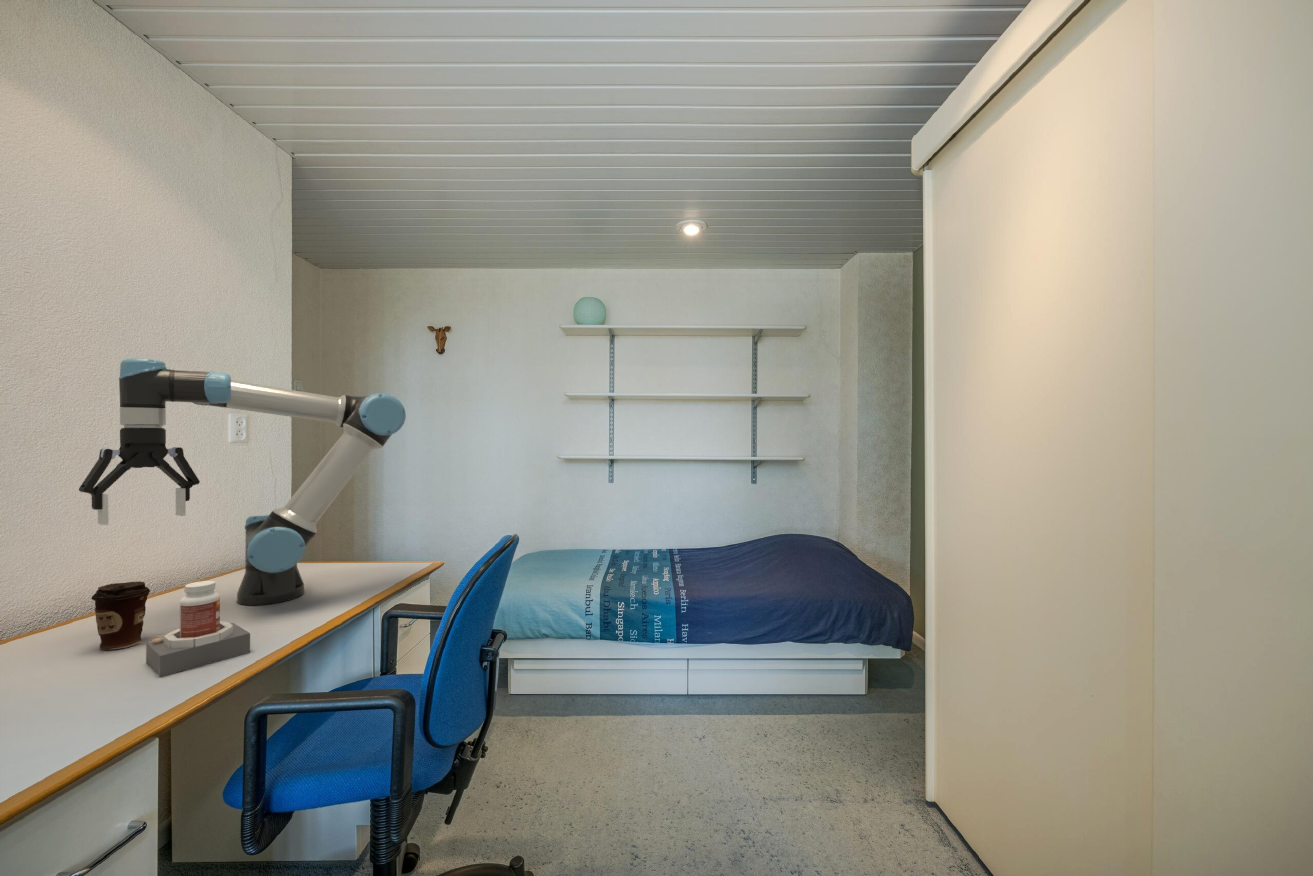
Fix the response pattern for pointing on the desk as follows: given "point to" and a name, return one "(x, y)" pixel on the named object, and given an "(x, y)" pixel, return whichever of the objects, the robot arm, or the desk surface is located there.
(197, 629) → the pill bottle
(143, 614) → the takeaway cup with lid
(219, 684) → the desk surface
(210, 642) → the grey block with ring
